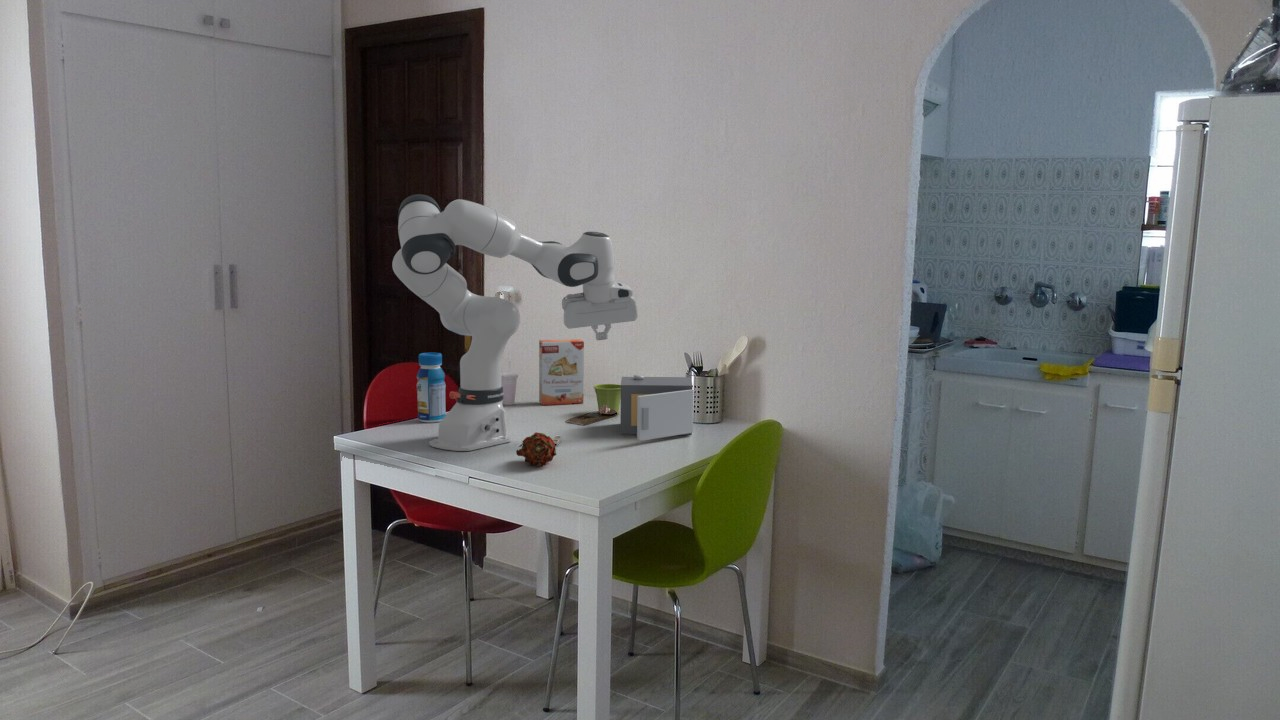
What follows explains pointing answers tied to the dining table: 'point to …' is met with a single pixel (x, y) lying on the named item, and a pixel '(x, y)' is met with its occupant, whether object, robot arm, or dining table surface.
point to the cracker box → (561, 371)
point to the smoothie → (509, 386)
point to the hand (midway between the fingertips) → (601, 339)
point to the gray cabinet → (645, 386)
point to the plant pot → (608, 396)
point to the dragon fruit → (537, 449)
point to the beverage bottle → (431, 388)
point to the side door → (664, 414)
